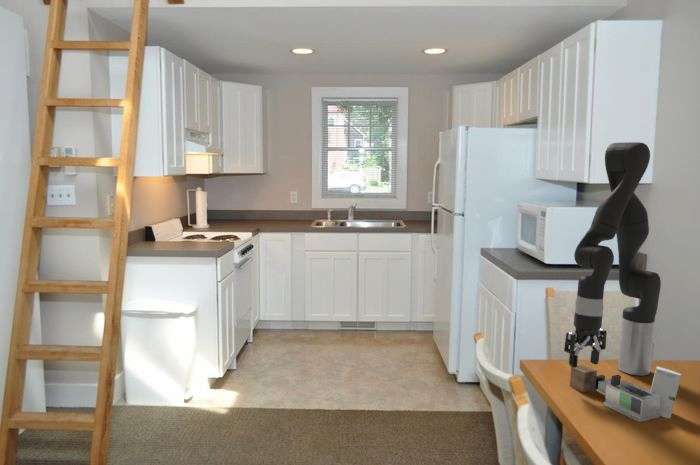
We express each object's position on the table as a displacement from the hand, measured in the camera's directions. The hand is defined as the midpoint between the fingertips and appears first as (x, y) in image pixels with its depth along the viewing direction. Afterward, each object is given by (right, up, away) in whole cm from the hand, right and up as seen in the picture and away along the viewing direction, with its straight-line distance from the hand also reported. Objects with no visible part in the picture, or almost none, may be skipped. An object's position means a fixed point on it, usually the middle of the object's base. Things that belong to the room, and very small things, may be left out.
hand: (583, 365), depth 161 cm
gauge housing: (+7, -9, -13) cm, 17 cm away
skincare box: (+14, -10, -14) cm, 22 cm away
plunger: (+3, -6, -8) cm, 11 cm away
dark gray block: (+3, -2, -13) cm, 13 cm away
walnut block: (0, -7, +1) cm, 7 cm away
